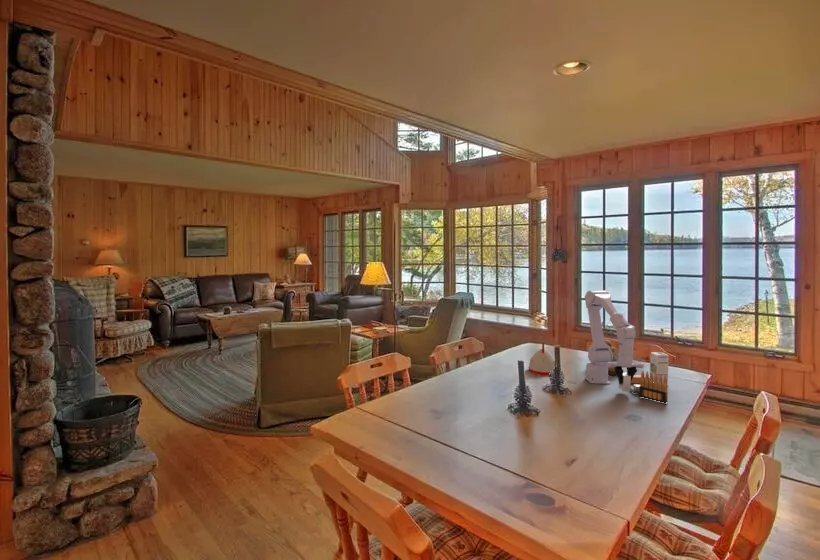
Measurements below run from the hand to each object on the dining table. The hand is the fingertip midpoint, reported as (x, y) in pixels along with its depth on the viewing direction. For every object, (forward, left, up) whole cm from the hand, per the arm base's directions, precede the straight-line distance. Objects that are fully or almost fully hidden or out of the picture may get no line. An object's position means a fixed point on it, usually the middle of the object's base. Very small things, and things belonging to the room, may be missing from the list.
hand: (624, 383), depth 184 cm
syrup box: (+22, +17, -5) cm, 28 cm away
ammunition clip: (+9, -7, -5) cm, 12 cm away
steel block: (0, 0, -3) cm, 3 cm away
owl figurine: (+3, +33, -5) cm, 33 cm away
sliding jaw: (+10, +12, -3) cm, 16 cm away
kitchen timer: (-29, +31, -5) cm, 43 cm away
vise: (+10, +7, -5) cm, 13 cm away
